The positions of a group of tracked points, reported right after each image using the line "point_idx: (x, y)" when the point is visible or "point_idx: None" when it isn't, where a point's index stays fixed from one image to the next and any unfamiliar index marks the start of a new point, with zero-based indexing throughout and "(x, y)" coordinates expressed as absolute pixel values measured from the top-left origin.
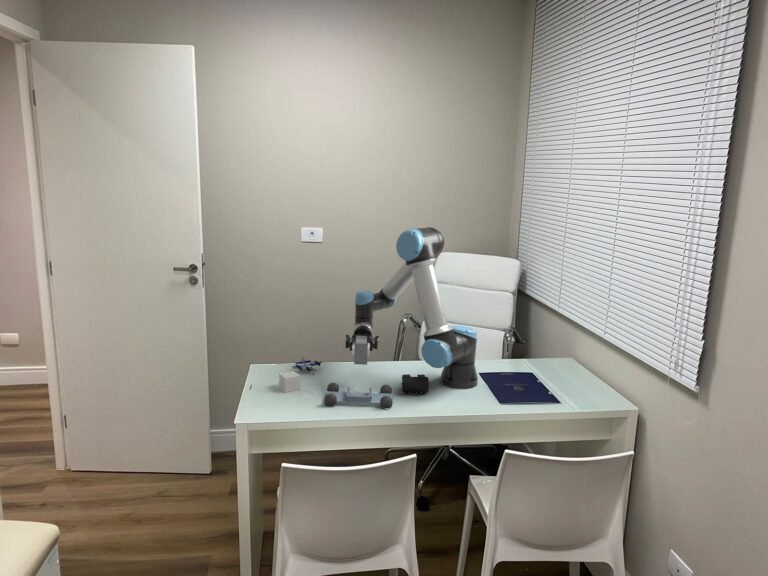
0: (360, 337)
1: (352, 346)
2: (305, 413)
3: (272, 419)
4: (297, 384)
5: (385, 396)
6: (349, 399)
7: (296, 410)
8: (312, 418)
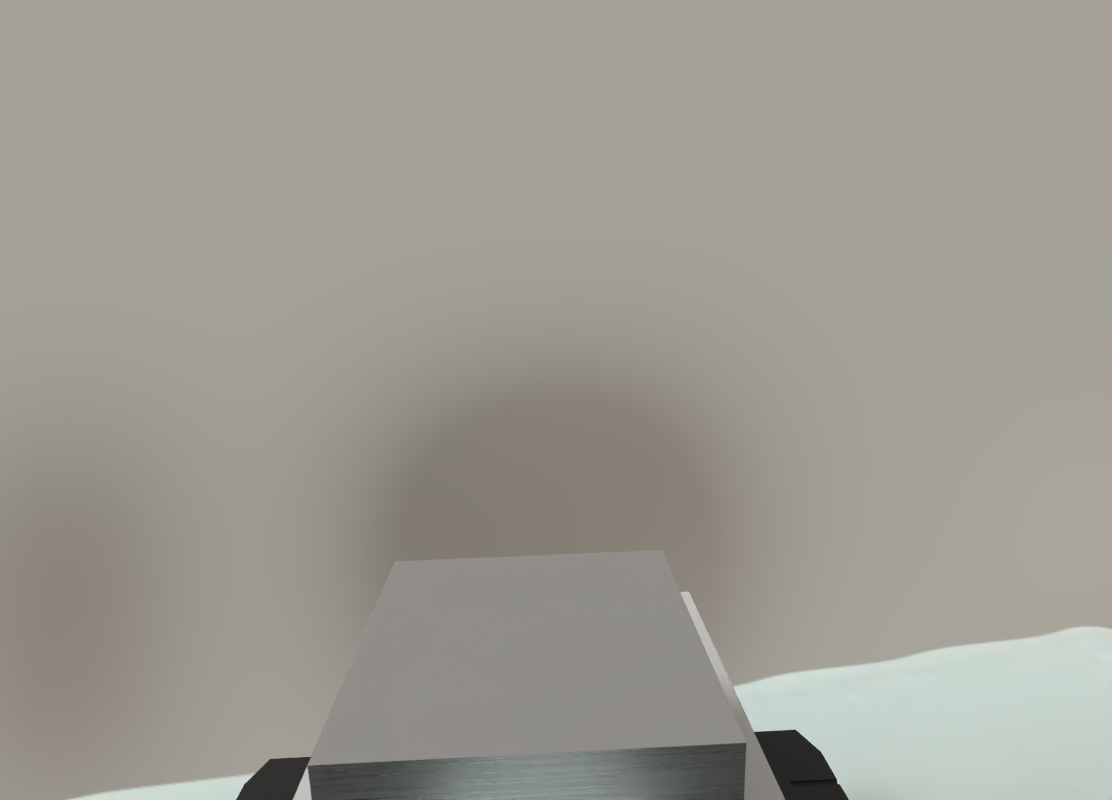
0: (558, 614)
1: (706, 635)
2: (877, 723)
3: (994, 651)
4: None
5: None
6: None
7: (966, 749)
8: (797, 682)
